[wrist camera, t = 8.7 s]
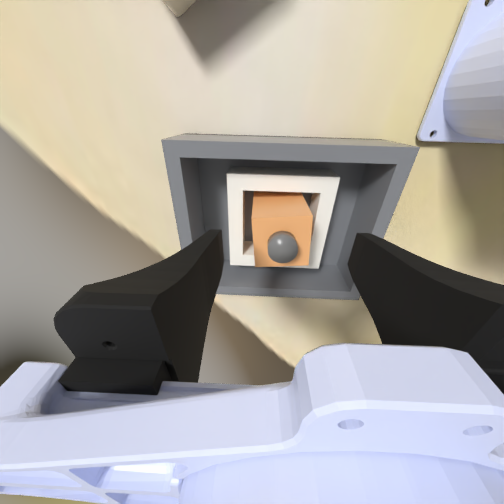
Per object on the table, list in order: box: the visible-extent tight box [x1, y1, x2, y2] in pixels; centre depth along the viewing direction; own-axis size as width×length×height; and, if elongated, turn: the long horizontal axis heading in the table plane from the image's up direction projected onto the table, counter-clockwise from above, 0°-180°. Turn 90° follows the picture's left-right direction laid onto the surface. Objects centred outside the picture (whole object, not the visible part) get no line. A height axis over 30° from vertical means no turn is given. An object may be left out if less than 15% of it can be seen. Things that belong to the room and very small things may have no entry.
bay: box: [161, 134, 420, 300], centre depth 19 cm, size 16×13×5 cm
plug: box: [251, 191, 313, 267], centre depth 17 cm, size 4×4×7 cm
